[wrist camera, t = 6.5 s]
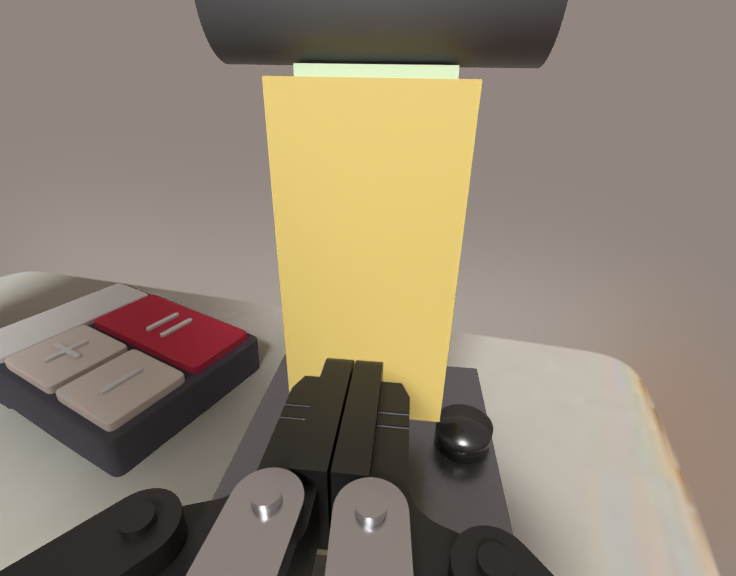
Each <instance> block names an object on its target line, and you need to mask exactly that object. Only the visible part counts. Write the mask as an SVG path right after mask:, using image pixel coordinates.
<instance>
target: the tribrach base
mask: <svg viewBox="0 0 736 576" xmlns="http://www.w3.org/2000/svg"><path fill="white" fill-rule="evenodd" d="M288 396H289V383H288V371H287V360H286V354H285V356H284V358H283V360H282V362H281V364H280V366H279V368H278V370H277V372H276V374H275V376H274V378H273V380H272V382H271V384H270V385H269V387H268V389H267V391H266V393H265V395H264V397H263V399H262V401H261V403H260V405H259V407H258V409H257V411H256V413H255V415H254V417H253V419H252V421H251V423H250V425H249V427H248V429H247V431H246V433H245V435H244V437H243V439H242V441H241V443H240V445H239V447H238V449H237V451H236V453H235V455H234V457H233V459H232V461H231V463H230V465H229V467H228V469H227V471H226V473H225V475H224V477H223V479H222V481H221V483H220V485H219V487H218V489H217V491H216V493H215V495H214V497H213V499H212V500H216V499H220V498H223V497H225V496H228V495H230V494H231V493H232V491H233V489H234V488H235V487H236V485H237V484H238V483H239V482H240V481H241V480H242V479H244V478H245V477H246V476H248V475H249V474H251V473H253V472H255V471H257V469H258V467H259V464H260V462H261V460H262V457H263V455H264V453H265V450H266V448H267V445H268V443H269V441H270V438H271V436H272V434H273V431H274V429H275V427H276V424H277V422H278V419H280V415H281V412H282V410H283V408H284V406H285V404H286V401H287V398H288ZM492 433H493V425H492V422H491V420H490V419H489V417H488V416H487V414H486V410H485V405H484V400H483V396H482V391H481V387H480V382H479V378H478V373H477V369H474V368H461V367H448V366H447V367H446V375H445V383H444V391H443V399H442V407H441V415H440V422H433V421H422V420H411V419H409V472H408V485H409V491H410V495H411V497H412V500H413V501H414V503H415V505H416V506H417V507H418V509H419V510H420V511H421V512H422V513H423V514H424V515H425V516H426V517H428V518H429V519H431V520H432V521H434V522H436V523H438V524H439V525H442V526H444V527H446V528H448V529H451V530H453V531H455V532H457V533H460V534H461V533H462V532H463V531H465V530H466V529H468V528H471V527H474V526H480V525H486V526H493V527H497V528H500V529H502V530H505V531H506V532H508V533H510V534H512V535H513V533H512V529H511V524H510V520H509V515H508V510H507V506H506V501H505V497H504V492H503V487H502V483H501V478H500V474H499V469H498V465H497V460H496V455H495V451H494V446H493V442H492ZM327 552H328V550H322V549H317V554H316V558H315V563H314V568H313V572H312V576H325V569H326V561H327Z"/></svg>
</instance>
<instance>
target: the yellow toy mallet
mask: <svg viewBox="0 0 736 576" xmlns="http://www.w3.org/2000/svg"><path fill="white" fill-rule="evenodd" d="M567 2H568V0H195V4H196V8H197V12H198V16H199V19H200V22H201V25H202V28H203V30H204V33H205V36H206V38H207V40H208V42H209V44H210V46H211V48H212V49H213V51H214V53H215V54H216V55H217V57H218V58H219V59H220V60H221V61H223V62H224V63H226V64H257V65H262V64H263V65H294V76H262V81H263V93H264V104H265V117H266V128H267V139H268V151H269V163H270V174H271V185H272V198H273V209H274V220H275V232H276V243H277V256H278V267H279V278H280V290H281V302H282V314H283V325H284V337H285V348H286V360H287V371H288V383H289V393H290V391H291V389H292V387H293V386H294V385H295V384H297V383H298V382H299V381H300V380H301V379H302V378H303V377H304V376H317V377H320V375H321V372H322V369H323V366H324V363H325V361H326V359H327V358H335V359H348V360H354V361H356V360H363V361H376V362H383V382H393V383H402V384H403V386H404V388H405V390H406V391H407V393H408V395H409V397H410V414H409V419H411V420H422V421H433V422H440V415H441V407H442V399H443V391H444V383H445V375H446V367H447V359H448V351H449V343H450V335H451V327H452V319H453V311H454V302H455V295H456V286H457V279H458V270H459V262H460V254H461V247H462V238H463V230H464V223H465V214H466V206H467V198H468V190H469V182H470V174H471V166H472V158H473V150H474V142H475V134H476V126H477V118H478V110H479V102H480V94H481V86H482V79H458V75H459V67H483V68H485V67H486V68H540V67H541V66H542V65H543V64H544V63H545V61H546V60H547V58H548V56H549V54H550V52H551V50H552V48H553V46H554V43H555V41H556V38H557V35H558V33H559V30H560V27H561V23H562V20H563V17H564V13H565V9H566V6H567Z"/></svg>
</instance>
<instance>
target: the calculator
mask: <svg viewBox="0 0 736 576" xmlns="http://www.w3.org/2000/svg"><path fill="white" fill-rule="evenodd" d="M258 369H259V358H258V345H257V338H256V337H255V336H253V335H250V334H248V333H247V332H246V331H244V330H242V329H239V328H237V327H234V326H232V325H229V324H227V323H224V322H222V321H219V320H217V319H214V318H212V317H209V316H207V315H204V314H202V313H199V312H197V311H194V310H192V309H189V308H187V307H184V306H181V305H179V304H176V303H174V302H171V301H169V300H166V299H164V298H161V297H159V296H156V295H150V294H148V293H145V292H143V291H140V290H138V289H135V288H133V287H130V286H128V285H125V284H122V283H117V284H114V285H112V286H109V287H106V288H104V289H101V290H99V291H96V292H93V293H91V294H88V295H86V296H83V297H80V298H78V299H75V300H73V301H70V302H67V303H65V304H62V305H60V306H57V307H54V308H52V309H49V310H47V311H44V312H41V313H39V314H36V315H34V316H31V317H28V318H26V319H23V320H21V321H18V322H15V323H13V324H10V325H8V326H5V327H2V328H0V403H1V404H3V405H4V406H6V407H8V408H10V409H12V408H13V409H14V410H16V411H17V412H18V413H20V414H21V415H23V416H24V417H26V418H27V419H28V420H30V421H31V422H33V423H34V424H36V425H37V426H38V427H40V428H41V429H43V430H44V431H46V432H47V433H48V434H50V435H51V436H53V437H54V438H56V439H57V440H58V441H60V442H61V443H63V444H64V445H66V446H67V447H69V448H70V449H72V450H73V451H75V452H76V453H78V454H79V455H81V456H82V457H84V458H85V459H87V460H88V461H90V462H91V463H93V464H95V465H96V466H98V467H99V468H101V469H102V470H104V471H105V472H107V473H108V474H110V475H111V476H114V477H119V476H122V475H124V474H126V473H127V472H129V471H130V470H131V469H133V468H134V467H135V466H136V465H138V464H139V463H140V462H141V461H143V460H144V459H145V458H146V457H148V456H149V455H150V454H152V453H153V452H154V451H155V450H157V449H158V448H159V447H160V446H162V445H163V444H164V443H165V442H167V441H168V440H169V439H171V438H172V437H173V436H174V435H176V434H177V433H178V432H179V431H181V430H182V429H183V428H185V427H186V426H187V425H188V424H190V423H191V422H192V421H193V420H195V419H196V418H197V417H198V416H200V415H201V414H202V413H204V412H205V411H206V410H207V409H209V408H210V407H211V406H212V405H214V404H215V403H216V402H217V401H219V400H220V399H221V398H223V397H224V396H225V395H226V394H228V393H229V392H230V391H231V390H233V389H234V388H235V387H236V386H238V385H239V384H240V383H242V382H243V381H244V380H245V379H247V378H248V377H249V376H250V375H252V374H253V373H254V372H255V371H257V370H258Z"/></svg>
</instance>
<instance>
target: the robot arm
mask: <svg viewBox="0 0 736 576" xmlns="http://www.w3.org/2000/svg"><path fill="white" fill-rule="evenodd" d="M409 414H410V397H409V395H408V393H407V391H406V390H405V388H404V386H403V384H402V383H393V382H383V362H376V361H363V360H356V361H354V360H348V359H335V358H327V359H326V361H325V363H324V366H323V369H322V372H321V375H320V377H317V376H304V377H303V378H302V379H301V380H300V381H299V382H298V383H297V384H295V385H294V386H293V387H292V389H291V391H290V393H289V396H288V398H287V401H286V404H285V406H284V408H283V410H282V412H281V415H280V419H278V422H277V424H276V427H275V429H274V431H273V434H272V436H271V438H270V441H269V443H268V445H267V448H266V450H265V453H264V455H263V457H262V460H261V462H260V464H259V467H258V469H257V471H255V472H253V473H251V474H249V475H248V476H246V477H245V478H244V479H242V480H241V481H240V482H239V483H238V484H237V485H236V487H235V488H234V489H233V491H232V493H231V494H230V495H228V496H225V497H223V498H220V499H216V500H211V501H206V502H201V503H196V504H191V505H186V506H182V505H181V502H180V500H179V498H178V497H177V496H176V494H174V493H173V492H171V491H169V490H166V489H161V488H153V489H146V490H142V491H139V492H136V493H134V494H132V495H130V496H128V497H126V498H124V499H122V500H121V501H119V502H117V503H115V504H114V505H112V506H110V507H109V508H107V509H105V510H104V511H102V512H100V513H98V514H97V515H95V516H93V517H92V518H90V519H88V520H86V521H85V522H83V523H81V524H80V525H78V526H76V527H74V528H73V529H71V530H69V531H68V532H66V533H64V534H63V535H61V536H59V537H57V538H56V539H54V540H52V541H51V542H49V543H47V544H45V545H44V546H42V547H40V548H39V549H37V550H35V551H34V552H32V553H30V554H28V555H27V556H25V557H23V558H22V559H20V560H18V561H16V562H15V563H13V564H11V565H10V566H8V567H6V568H4V569H3V570H1V571H0V576H312V572H313V568H314V563H315V558H316V554H317V549H322V550H328V552H327V561H326V569H325V576H554V575H553V574H552V573H551V572H550V571H549V570H548V569H547V568H546V567H545V566H544V565H543V564H542V563H541V562H540V561H539V560H538V559H537V558H536V557H535V556H534V555H533V554H532V553H531V552H530V550H529V549H528V548H527V547H526V546H525V545H524V544H523V543H522V542H521V541H519V540H518V539H517V538H516V537H514V536H513V535H512V534H510V533H508V532H506V531H505V530H502V529H500V528H497V527H493V526H486V525H480V526H474V527H471V528H468V529H466V530H465V531H463V532H462V533H461V534H460V533H457V532H455V531H453V530H451V529H448V528H446V527H444V526H442V525H439V524H438V523H436V522H434V521H432V520H431V519H429V518H428V517H426V516H425V515H424V514H423V513H422V512H421V511H420V510H419V509H418V507H417V506H416V505H415V503H414V501H413V500H412V497H411V495H410V491H409V485H408V472H409Z"/></svg>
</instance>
